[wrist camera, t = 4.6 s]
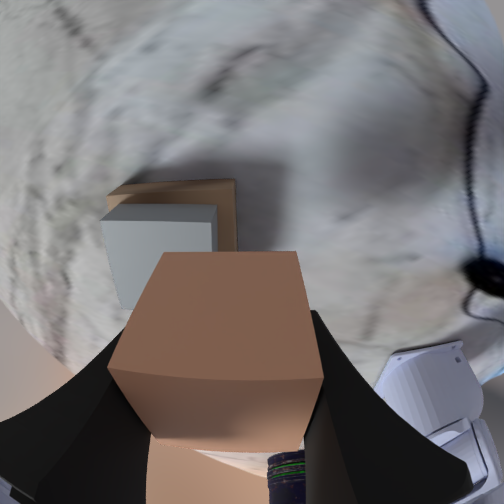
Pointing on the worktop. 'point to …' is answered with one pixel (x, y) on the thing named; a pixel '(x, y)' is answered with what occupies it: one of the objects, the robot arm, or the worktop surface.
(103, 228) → the grey flat square block
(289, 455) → the storage jar
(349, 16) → the worktop surface
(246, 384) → the terracotta block
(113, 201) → the tower base
